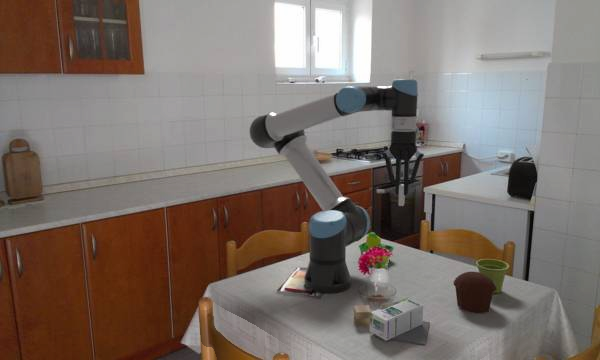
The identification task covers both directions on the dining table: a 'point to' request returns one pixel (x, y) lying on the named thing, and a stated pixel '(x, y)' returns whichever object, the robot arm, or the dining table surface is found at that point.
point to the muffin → (474, 292)
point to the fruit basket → (373, 243)
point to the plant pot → (493, 271)
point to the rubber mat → (414, 335)
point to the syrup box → (396, 318)
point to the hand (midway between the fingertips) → (401, 204)
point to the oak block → (362, 315)
